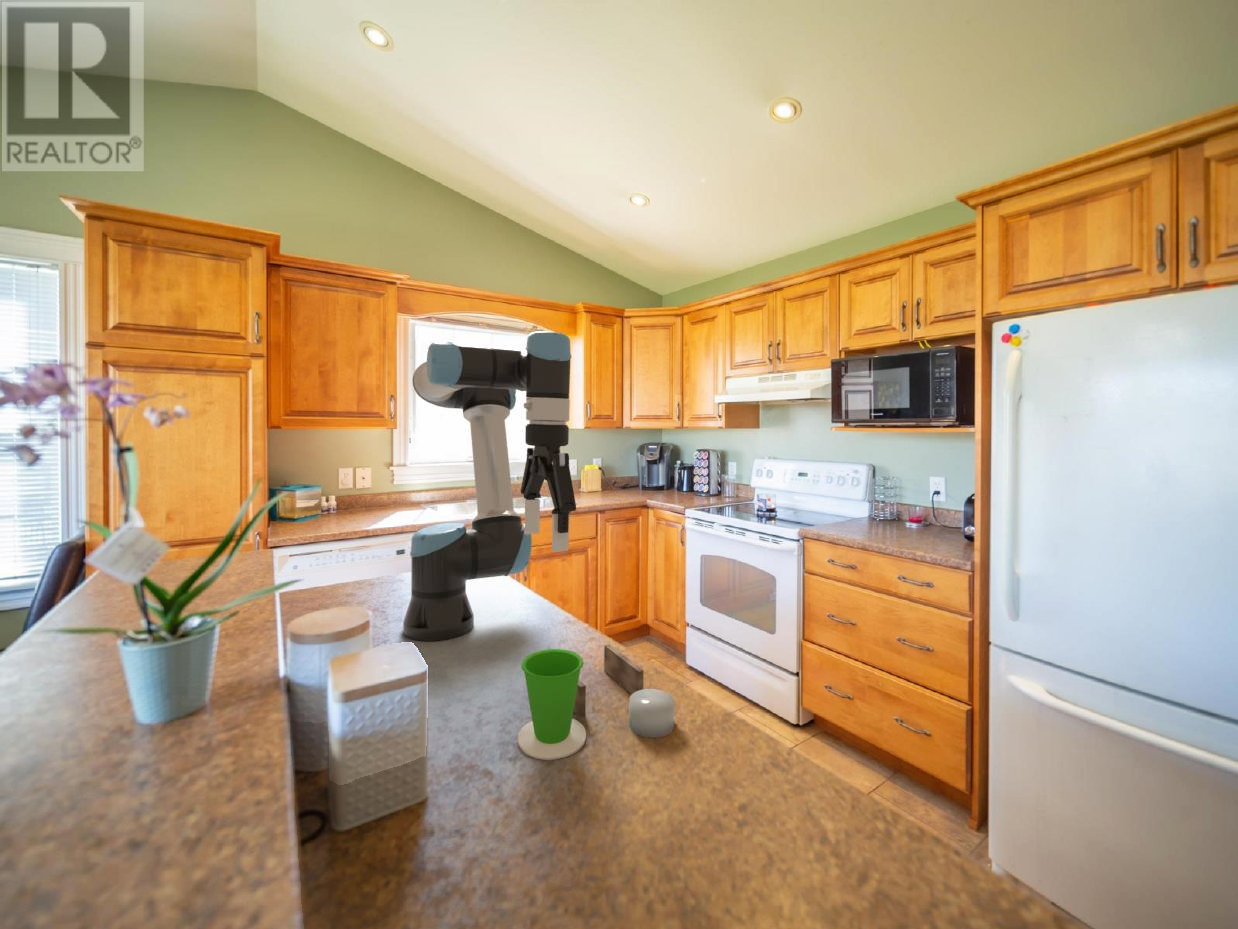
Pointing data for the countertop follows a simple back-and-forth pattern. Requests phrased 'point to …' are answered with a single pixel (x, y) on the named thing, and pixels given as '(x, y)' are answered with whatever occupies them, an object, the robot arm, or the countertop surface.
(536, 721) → the cup
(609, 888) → the countertop surface
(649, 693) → the grey rounded puck
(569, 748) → the white oval pebble
